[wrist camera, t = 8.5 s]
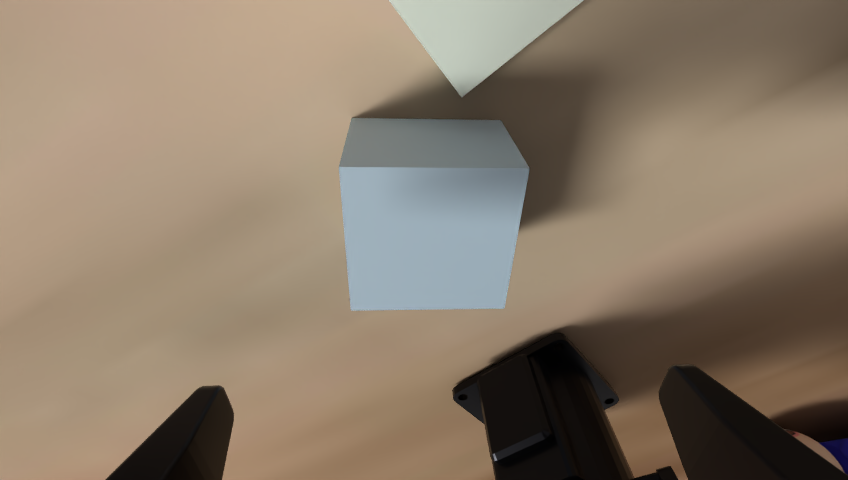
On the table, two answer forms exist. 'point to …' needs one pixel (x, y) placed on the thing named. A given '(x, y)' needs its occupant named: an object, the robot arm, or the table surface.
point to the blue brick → (430, 212)
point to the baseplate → (478, 32)
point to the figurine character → (827, 449)
